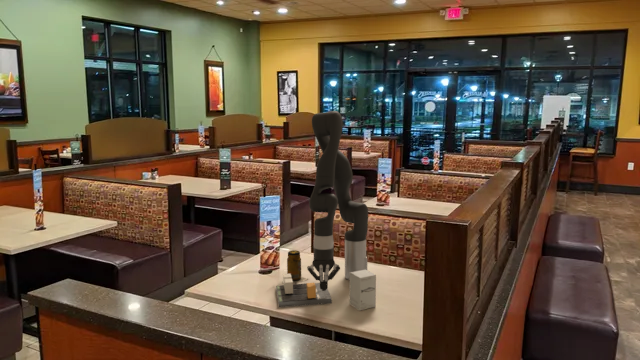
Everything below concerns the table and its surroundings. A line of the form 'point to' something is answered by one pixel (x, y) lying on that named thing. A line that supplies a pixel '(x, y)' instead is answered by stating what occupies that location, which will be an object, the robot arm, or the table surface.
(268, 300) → the table surface
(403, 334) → the table surface
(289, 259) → the condiment
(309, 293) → the block
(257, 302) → the table surface
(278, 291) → the panel
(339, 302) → the table surface
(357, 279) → the supplement box
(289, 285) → the block
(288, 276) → the block
